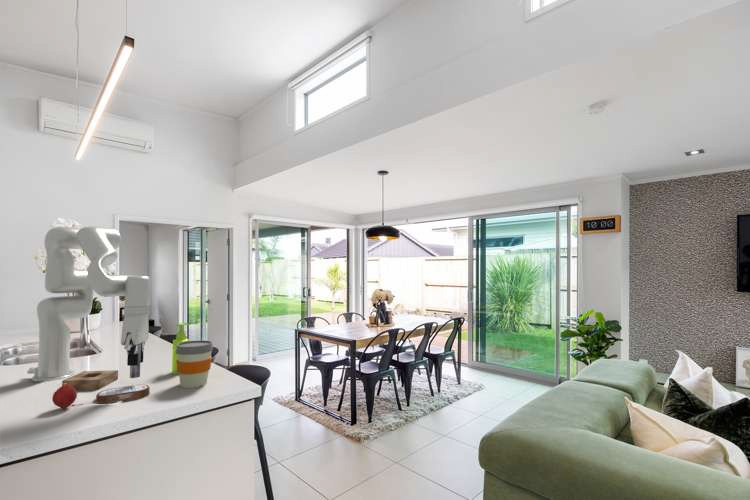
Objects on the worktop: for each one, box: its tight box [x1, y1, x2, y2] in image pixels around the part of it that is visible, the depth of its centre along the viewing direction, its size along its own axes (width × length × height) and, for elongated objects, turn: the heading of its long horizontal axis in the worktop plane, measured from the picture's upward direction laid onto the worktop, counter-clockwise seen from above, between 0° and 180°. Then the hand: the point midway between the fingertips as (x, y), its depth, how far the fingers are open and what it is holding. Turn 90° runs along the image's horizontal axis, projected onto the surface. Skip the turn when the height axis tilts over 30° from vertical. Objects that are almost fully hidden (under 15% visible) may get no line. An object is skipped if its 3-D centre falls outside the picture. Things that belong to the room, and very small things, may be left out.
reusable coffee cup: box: [176, 339, 214, 389], centre depth 142 cm, size 13×12×15 cm
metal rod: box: [129, 343, 141, 379], centre depth 132 cm, size 3×3×14 cm
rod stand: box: [61, 369, 119, 391], centre depth 138 cm, size 12×12×4 cm
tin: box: [95, 384, 150, 405], centre depth 126 cm, size 15×3×8 cm
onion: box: [51, 383, 78, 410], centre depth 117 cm, size 6×6×8 cm
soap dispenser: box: [171, 322, 191, 375], centre depth 159 cm, size 6×7×20 cm
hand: (135, 363), depth 132 cm, fingers closed on metal rod, 3 cm apart
